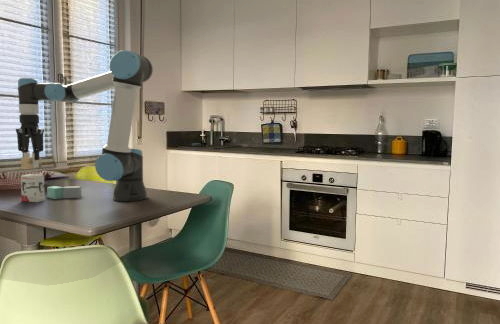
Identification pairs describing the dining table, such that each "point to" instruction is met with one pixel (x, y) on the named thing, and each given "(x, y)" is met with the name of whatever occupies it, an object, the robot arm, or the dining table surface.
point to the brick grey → (72, 192)
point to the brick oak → (28, 163)
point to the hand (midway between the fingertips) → (31, 167)
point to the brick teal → (55, 192)
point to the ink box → (32, 188)
